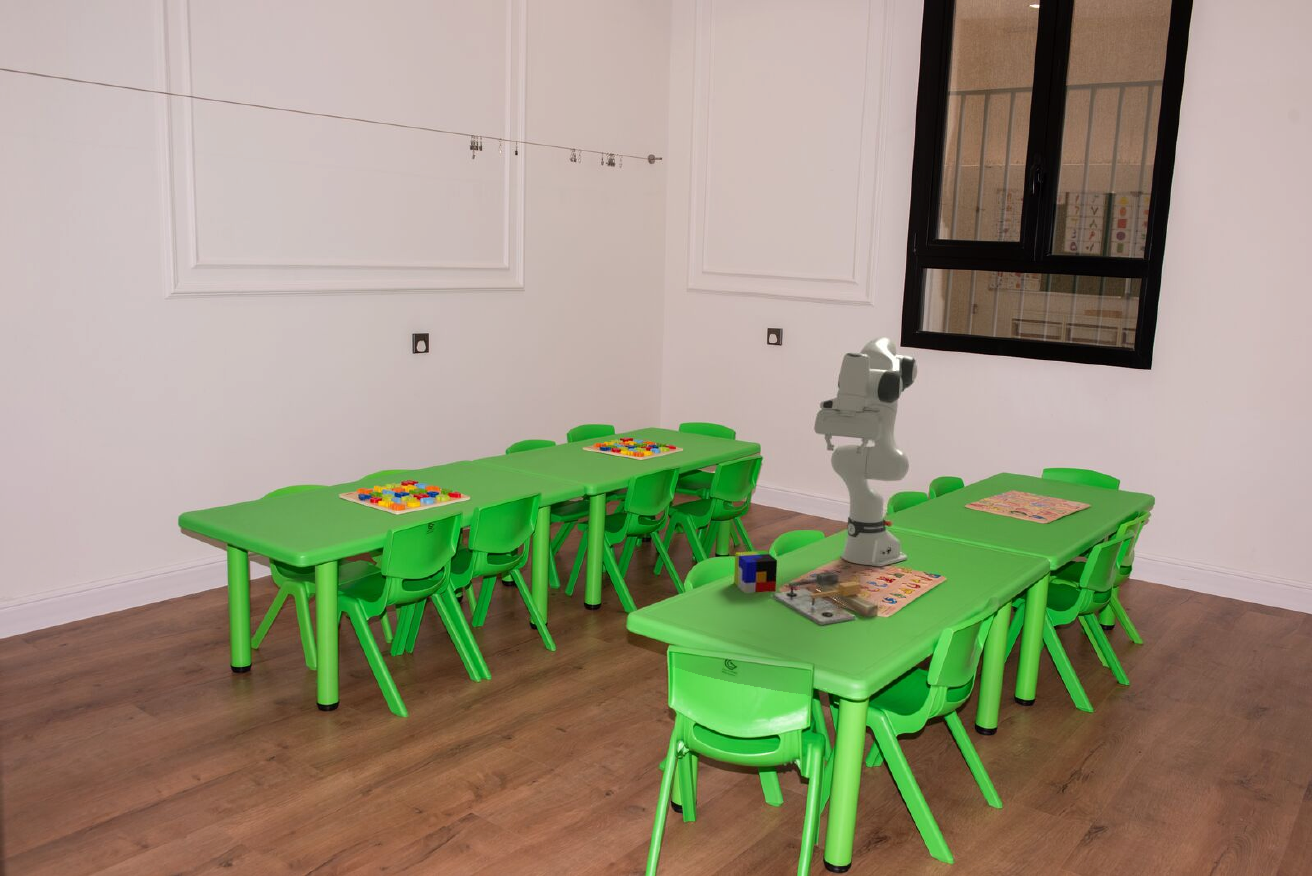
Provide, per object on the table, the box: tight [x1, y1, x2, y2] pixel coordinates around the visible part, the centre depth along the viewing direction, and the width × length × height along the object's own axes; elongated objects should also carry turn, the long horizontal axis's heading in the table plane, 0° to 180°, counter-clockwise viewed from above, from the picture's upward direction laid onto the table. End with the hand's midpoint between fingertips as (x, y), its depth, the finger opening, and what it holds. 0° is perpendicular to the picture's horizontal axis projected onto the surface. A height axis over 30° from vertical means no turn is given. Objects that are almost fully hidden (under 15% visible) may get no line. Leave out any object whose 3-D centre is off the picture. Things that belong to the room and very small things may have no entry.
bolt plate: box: [772, 588, 856, 626], centre depth 308 cm, size 12×25×1 cm, turn 27°
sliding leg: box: [810, 580, 862, 605], centre depth 309 cm, size 17×3×5 cm, turn 117°
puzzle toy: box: [733, 550, 778, 594], centre depth 324 cm, size 10×10×10 cm
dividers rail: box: [788, 570, 879, 618], centre depth 310 cm, size 17×25×6 cm
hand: (844, 452), depth 310 cm, fingers open, 8 cm apart
